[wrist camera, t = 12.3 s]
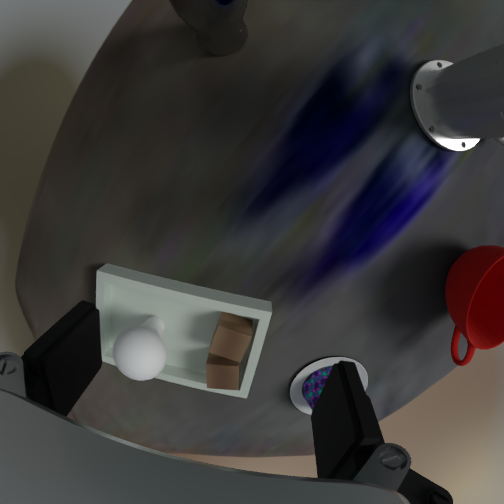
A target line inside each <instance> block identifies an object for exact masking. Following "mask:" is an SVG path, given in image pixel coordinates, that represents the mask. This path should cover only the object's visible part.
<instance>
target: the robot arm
mask: <svg viewBox="0 0 504 504" xmlns="http://www.w3.org/2000/svg"><path fill="white" fill-rule="evenodd" d="M410 100H411V106H412V109H413V113H414V116H415V118H416V120H417V122H418V124H419V126H420V127H421V129H422V130H423V132H424V133H425V134H426V135H427V137H428V138H429V139H430V140H431V141H433V142H434V143H435V144H436V145H438V146H440V147H441V148H443V149H446V150H449V151H465V150H469V149H470V148H472V147H474V146H475V145H476V144H477V143H478V142H479V140H480V139H484V138H494V139H495V140H496V141H497V142H499V143H500V144H502V145H503V146H504V44H501V45H498V46H496V47H493V48H491V49H488V50H486V51H483V52H481V53H478V54H476V55H473V56H471V57H469V58H466V59H464V60H461V61H459V62H457V63H454V64H453V63H451V62H449V61H445V60H433V61H429V62H427V63H425V64H423V65H422V66H421V67H419V68H418V70H417V71H416V72H415V74H414V76H413V78H412V81H411V86H410ZM429 130H430V131H429ZM101 365H102V352H101V336H100V312H99V309H97V308H96V305H95V304H92V303H89V302H86V301H81V302H79V303H78V304H77V305H76V306H75V307H74V308H72V309H71V310H70V311H69V312H68V313H67V314H66V315H64V316H63V317H62V318H61V319H60V320H59V321H58V322H56V323H55V324H54V325H53V326H52V327H51V328H50V329H49V330H48V331H46V332H45V333H44V334H43V335H42V336H41V337H40V338H39V339H38V340H37V341H35V342H34V343H33V344H32V345H31V346H30V347H29V348H28V349H27V350H26V351H25V352H24V355H23V356H21V357H20V356H19V355H17V354H15V353H12V352H1V353H0V504H453V499H452V496H451V495H450V493H449V492H448V491H447V490H445V489H444V488H442V487H441V486H439V485H437V484H435V483H433V482H432V481H430V480H428V479H427V478H425V477H423V476H421V475H420V474H418V473H417V472H415V471H413V470H412V469H410V465H411V457H410V455H409V453H408V452H407V451H406V450H405V449H404V448H403V447H401V446H399V445H396V444H393V443H385V442H384V439H383V436H382V433H381V430H380V427H379V424H378V421H377V418H376V415H375V412H374V409H373V406H372V403H371V400H370V398H369V396H367V395H366V392H365V390H364V387H363V384H362V381H361V378H360V375H359V373H358V370H357V367H356V364H355V362H350V361H343V360H340V361H339V362H338V363H335V364H334V365H333V367H332V369H331V371H330V374H329V376H328V378H327V380H326V382H325V385H324V387H323V389H322V391H321V393H320V395H319V398H318V400H317V402H316V404H315V406H314V408H313V410H312V414H311V421H312V429H313V438H314V447H315V456H316V465H317V475H318V478H310V477H297V476H286V475H277V474H268V473H260V472H253V471H246V470H240V469H234V468H228V467H223V466H218V465H213V464H208V463H203V462H198V461H194V460H190V459H186V458H182V457H178V456H174V455H171V454H167V453H164V452H160V451H157V450H153V449H150V448H147V447H144V446H140V445H137V444H134V443H131V442H128V441H126V440H123V439H120V438H117V437H114V436H112V435H109V434H106V433H104V432H101V431H99V430H96V429H94V428H91V427H89V426H86V425H84V424H82V423H79V422H77V421H75V420H73V419H70V418H68V417H66V416H67V415H68V413H69V412H70V411H71V409H72V408H73V406H74V405H75V403H76V402H77V401H78V399H79V398H80V396H81V395H82V393H83V392H84V391H85V389H86V388H87V386H88V385H89V384H90V382H91V381H92V379H93V378H94V377H95V375H96V374H97V373H98V371H99V370H100V368H101Z"/></svg>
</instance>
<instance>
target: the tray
mask: <svg viewBox="0 0 504 504" xmlns="http://www.w3.org/2000/svg"><path fill="white" fill-rule="evenodd" d="M96 308H97V309H99V312H100V336H101V352H102V361H104V362H107V363H109V364H112V365H115V366H116V364H115V361H114V358H113V346H114V342H115V340H116V338H117V337H118V336H119V334H120V333H121V332H123V331H124V330H126V329H128V328H130V327H136V326H141V325H142V324H143V323H145V322H146V321H147V320H148V319H149V318H150V317H158V318H160V319H161V320H162V321H163V322H164V325H165V328H164V331H163V339H162V340H163V342H164V344H165V347H166V351H167V360H166V363H165V366H164V368H163V370H162V371H161V372H160V373H159V374H158V375H157V376H155V378H158V379H162V380H166V381H169V382H173V383H177V384H181V385H185V386H189V387H193V388H198V389H202V390H207V391H211V392H216V393H221V394H226V395H231V396H236V397H242V398H247V396H248V393H249V389H250V386H251V383H252V380H253V376H254V373H255V370H256V366H257V363H258V359H259V356H260V353H261V349H262V346H263V342H264V339H265V335H266V332H267V329H268V325H269V322H270V318H271V314H272V306H271V302H270V301H265V300H260V299H255V298H251V297H246V296H241V295H237V294H232V293H228V292H223V291H219V290H214V289H210V288H205V287H201V286H197V285H192V284H188V283H184V282H180V281H176V280H171V279H167V278H163V277H159V276H155V275H151V274H147V273H143V272H139V271H135V270H131V269H127V268H124V267H120V266H116V265H112V264H108V263H107V264H105V265H104V266H102V267H101V268H99V269H98V270H97V277H96ZM222 311H223V312H227V313H232V314H235V315H238V316H241V317H244V318H247V319H250V320H253V325H252V338H251V340H250V342H249V345H248V347H247V349H246V351H245V353H244V356H243V358H242V360H241V362H240V373H239V384H238V390H224V389H212V388H207V380H206V361H207V358H208V354H209V349H210V345H211V341H212V337H213V334H214V331H215V329H216V326H217V323H218V321H219V318H220V315H221V313H222Z"/></svg>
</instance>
